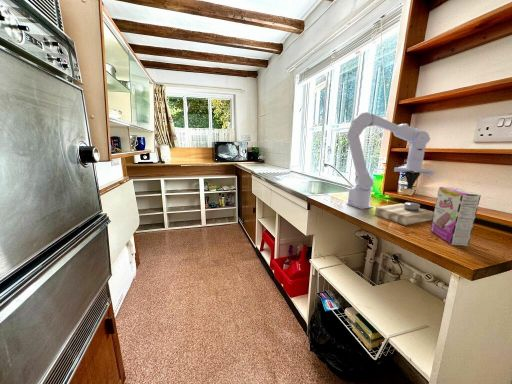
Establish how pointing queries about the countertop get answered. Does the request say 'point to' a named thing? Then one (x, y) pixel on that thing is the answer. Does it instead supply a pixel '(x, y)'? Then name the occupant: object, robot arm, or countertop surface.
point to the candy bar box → (454, 215)
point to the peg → (411, 206)
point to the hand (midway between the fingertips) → (409, 188)
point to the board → (403, 214)
